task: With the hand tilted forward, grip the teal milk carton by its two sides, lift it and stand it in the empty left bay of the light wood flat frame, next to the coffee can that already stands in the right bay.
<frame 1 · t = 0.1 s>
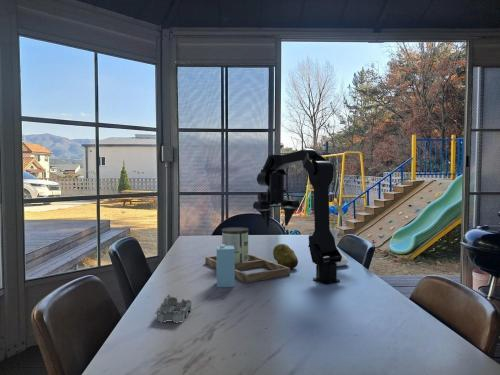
hand: (276, 226, 153), 15 cm above the table, tool pointing down, fingers open, 9 cm apart
light wood flat frame: (245, 269, 146), on the table
flower in vase: (333, 264, 153), on the table
coffee can: (235, 265, 152), resting in light wood flat frame
milk carton: (225, 284, 126), on the table
egg carton: (175, 317, 99), on the table
potato: (284, 266, 150), on the table
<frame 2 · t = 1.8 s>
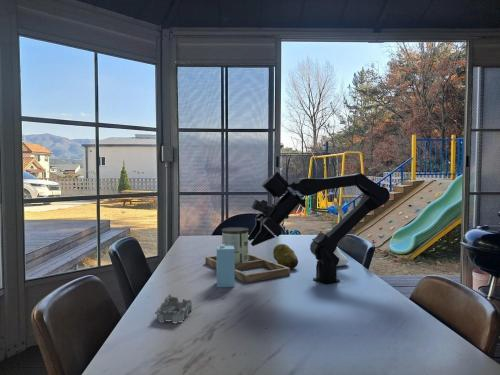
hand: (250, 242, 126), 13 cm above the table, tool tilted 45°, fingers open, 9 cm apart
nothing on the table moved.
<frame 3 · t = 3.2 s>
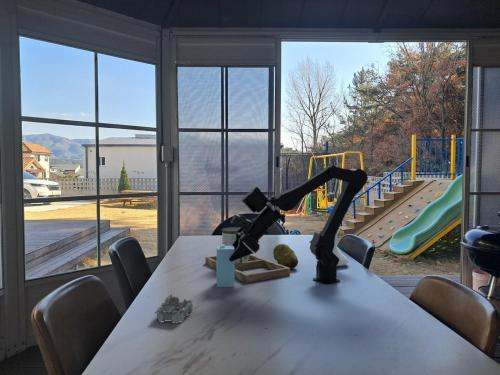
hand: (228, 257, 126), 9 cm above the table, tool tilted 45°, fingers open, 9 cm apart
nothing on the table moved.
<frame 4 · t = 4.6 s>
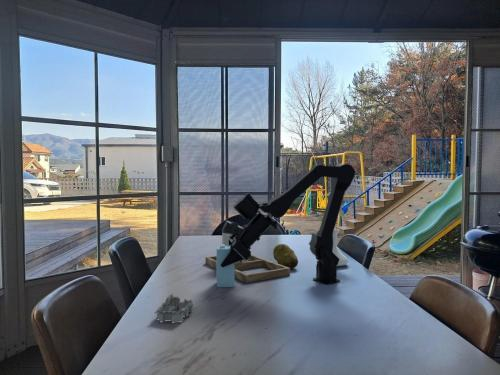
hand: (221, 264, 126), 7 cm above the table, tool tilted 45°, fingers closed on milk carton, 5 cm apart
milk carton: (225, 284, 126), on the table, touching gripper
everything else where it was.
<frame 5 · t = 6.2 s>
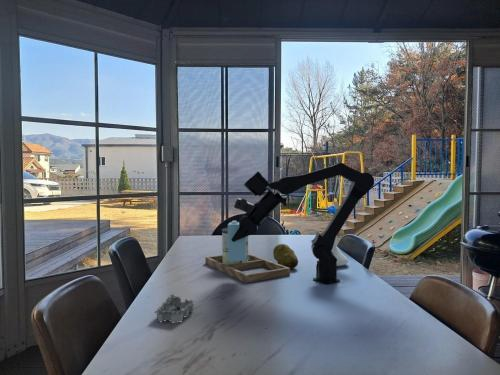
hand: (233, 239, 132), 13 cm above the table, tool tilted 45°, fingers closed on milk carton, 5 cm apart
milk carton: (237, 258, 132), point 7 cm above the table, touching gripper
everything else where it was.
when the fingers open (8 cm above the table, at t = 8.1 s): milk carton drops 2 cm, resting in light wood flat frame.
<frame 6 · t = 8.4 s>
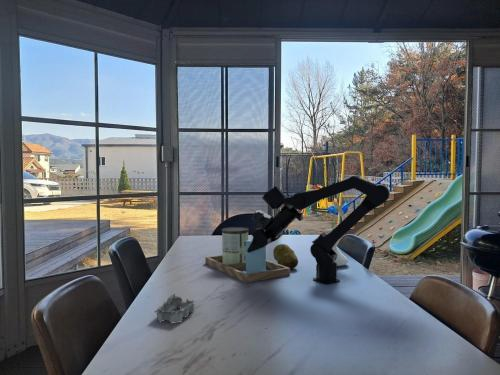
hand: (252, 249, 139), 9 cm above the table, tool tilted 45°, fingers open, 8 cm apart
milk carton: (256, 273, 139), resting in light wood flat frame
everything else where it was.
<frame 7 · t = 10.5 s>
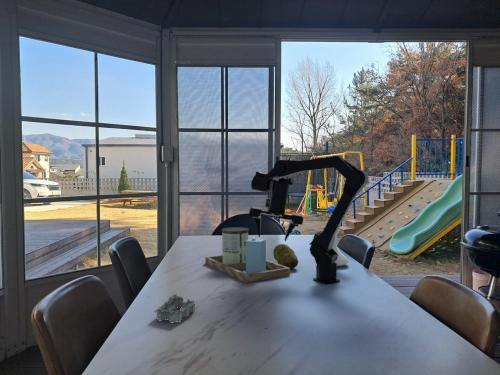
hand: (272, 238, 138), 13 cm above the table, tool pointing down, fingers open, 9 cm apart
nothing on the table moved.
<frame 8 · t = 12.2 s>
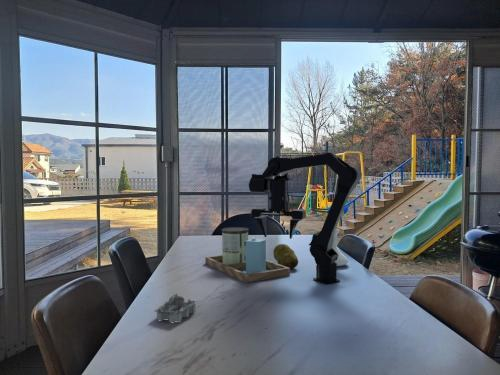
hand: (278, 237, 137), 13 cm above the table, tool pointing down, fingers open, 9 cm apart
at the end: milk carton inside the target area (0.0 cm from its centre), resting in light wood flat frame; milk carton tilted 0°; the gripper is holding nothing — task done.
